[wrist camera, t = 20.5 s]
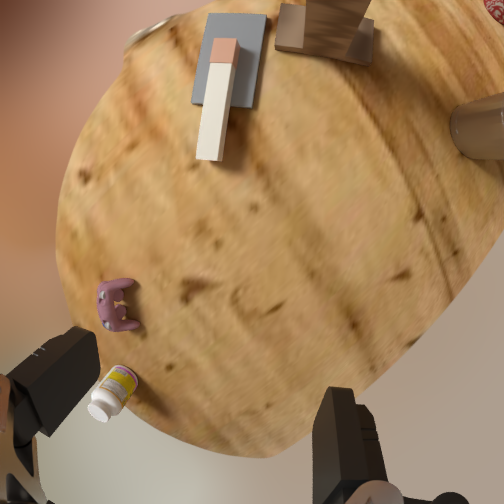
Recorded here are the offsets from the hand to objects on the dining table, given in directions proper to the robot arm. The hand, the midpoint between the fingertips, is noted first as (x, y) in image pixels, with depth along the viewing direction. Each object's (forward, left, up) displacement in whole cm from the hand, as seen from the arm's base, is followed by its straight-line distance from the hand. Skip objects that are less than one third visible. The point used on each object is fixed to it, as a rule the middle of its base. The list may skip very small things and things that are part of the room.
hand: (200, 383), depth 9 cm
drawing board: (+10, -23, -36) cm, 44 cm away
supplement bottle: (+25, +38, -36) cm, 58 cm away
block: (+10, -16, -35) cm, 40 cm away
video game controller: (+24, +19, -36) cm, 47 cm away
